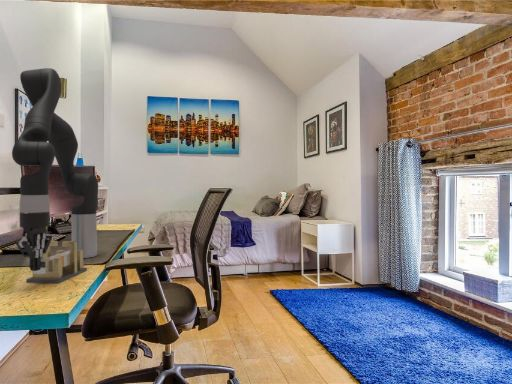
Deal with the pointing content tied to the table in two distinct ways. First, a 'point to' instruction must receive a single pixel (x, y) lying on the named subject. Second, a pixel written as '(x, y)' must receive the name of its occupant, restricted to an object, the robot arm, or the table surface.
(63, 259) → the rod
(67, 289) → the table surface
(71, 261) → the bridge
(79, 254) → the tan bracket pieces
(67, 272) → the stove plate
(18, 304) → the table surface
